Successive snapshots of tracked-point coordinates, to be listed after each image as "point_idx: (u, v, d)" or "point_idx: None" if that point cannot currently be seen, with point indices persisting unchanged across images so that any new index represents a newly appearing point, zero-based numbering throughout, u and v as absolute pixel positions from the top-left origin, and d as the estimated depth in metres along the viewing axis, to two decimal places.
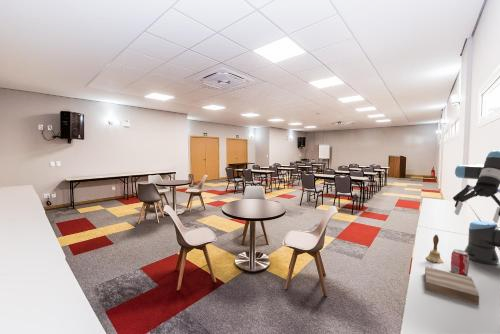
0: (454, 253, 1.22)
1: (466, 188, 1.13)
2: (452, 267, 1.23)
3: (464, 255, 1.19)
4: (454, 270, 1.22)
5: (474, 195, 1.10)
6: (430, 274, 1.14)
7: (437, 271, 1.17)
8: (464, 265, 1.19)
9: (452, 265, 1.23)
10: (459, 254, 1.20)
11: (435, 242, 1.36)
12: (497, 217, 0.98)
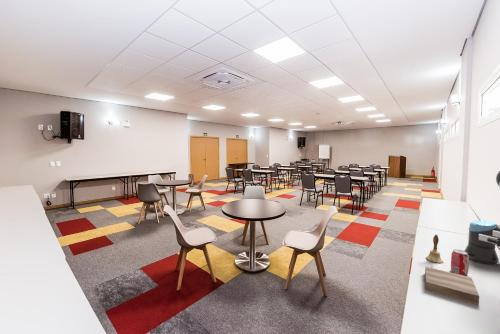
0: (454, 253, 1.22)
1: None
2: (452, 267, 1.23)
3: (464, 255, 1.19)
4: (454, 270, 1.22)
5: None
6: (430, 274, 1.14)
7: (437, 271, 1.17)
8: (464, 265, 1.19)
9: (452, 265, 1.23)
10: (459, 254, 1.20)
11: (435, 242, 1.36)
12: None
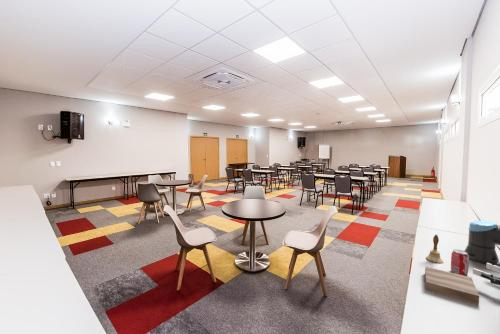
0: (454, 253, 1.22)
1: None
2: (452, 267, 1.23)
3: (464, 255, 1.19)
4: (454, 270, 1.22)
5: None
6: (430, 274, 1.14)
7: (437, 271, 1.17)
8: (464, 265, 1.19)
9: (452, 265, 1.23)
10: (459, 254, 1.20)
11: (435, 242, 1.36)
12: None
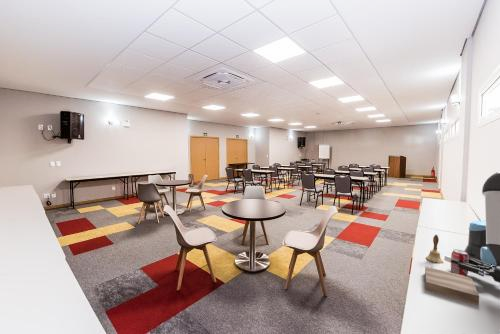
0: (454, 253, 1.22)
1: None
2: (452, 267, 1.23)
3: (464, 255, 1.19)
4: (454, 270, 1.22)
5: None
6: (430, 274, 1.14)
7: (437, 271, 1.17)
8: None
9: (452, 265, 1.23)
10: (459, 254, 1.20)
11: (435, 242, 1.36)
12: None
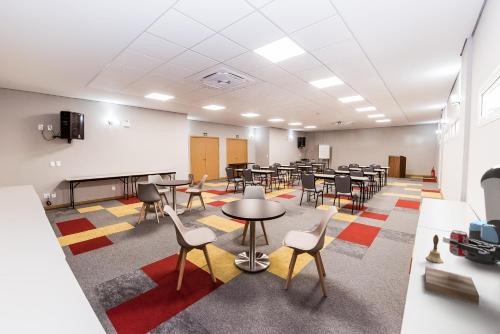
0: (453, 234, 1.16)
1: None
2: (451, 249, 1.16)
3: (463, 235, 1.13)
4: (453, 252, 1.15)
5: None
6: (430, 274, 1.14)
7: (437, 271, 1.17)
8: None
9: (451, 246, 1.16)
10: (458, 234, 1.14)
11: (435, 242, 1.36)
12: None
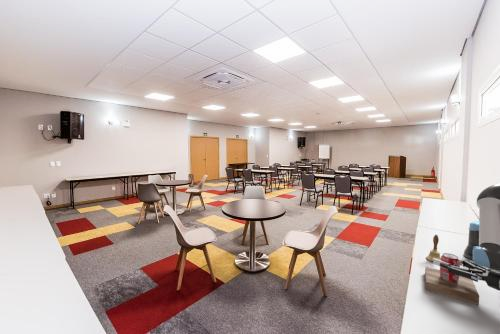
0: (443, 257, 1.08)
1: None
2: (441, 273, 1.09)
3: (454, 260, 1.05)
4: (443, 276, 1.08)
5: None
6: (430, 274, 1.14)
7: (437, 271, 1.17)
8: None
9: (441, 271, 1.09)
10: (449, 258, 1.06)
11: (435, 242, 1.36)
12: None
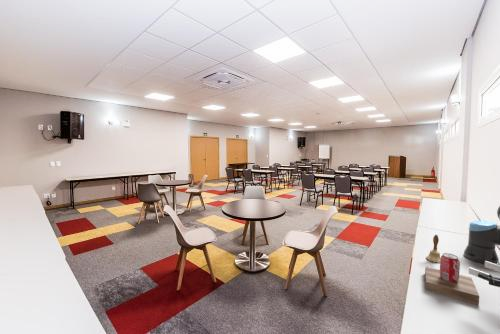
0: (443, 257, 1.08)
1: None
2: (441, 273, 1.09)
3: (454, 260, 1.05)
4: (443, 276, 1.08)
5: None
6: (430, 274, 1.14)
7: (437, 271, 1.17)
8: (454, 271, 1.05)
9: (441, 271, 1.09)
10: (449, 258, 1.06)
11: (435, 242, 1.36)
12: None
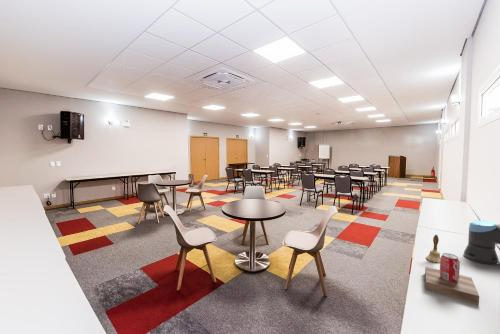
0: (443, 257, 1.08)
1: None
2: (441, 273, 1.09)
3: (454, 260, 1.05)
4: (443, 276, 1.08)
5: None
6: (430, 274, 1.14)
7: (437, 271, 1.17)
8: (454, 271, 1.05)
9: (441, 271, 1.09)
10: (449, 258, 1.06)
11: (435, 242, 1.36)
12: None
